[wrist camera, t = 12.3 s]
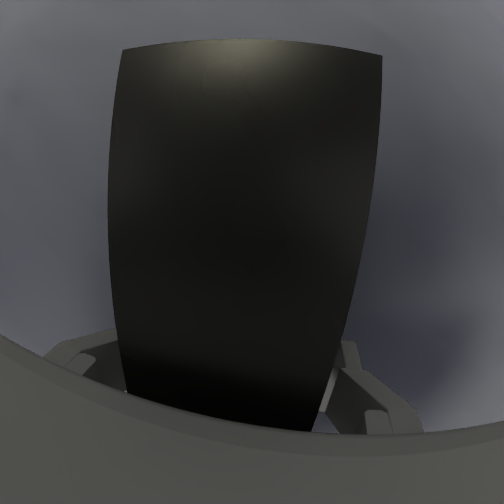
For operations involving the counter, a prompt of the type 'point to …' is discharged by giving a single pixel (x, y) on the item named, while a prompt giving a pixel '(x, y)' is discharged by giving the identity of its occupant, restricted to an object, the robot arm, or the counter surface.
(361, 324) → the counter surface
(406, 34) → the counter surface
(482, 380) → the counter surface
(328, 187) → the dark grey elongated piece
